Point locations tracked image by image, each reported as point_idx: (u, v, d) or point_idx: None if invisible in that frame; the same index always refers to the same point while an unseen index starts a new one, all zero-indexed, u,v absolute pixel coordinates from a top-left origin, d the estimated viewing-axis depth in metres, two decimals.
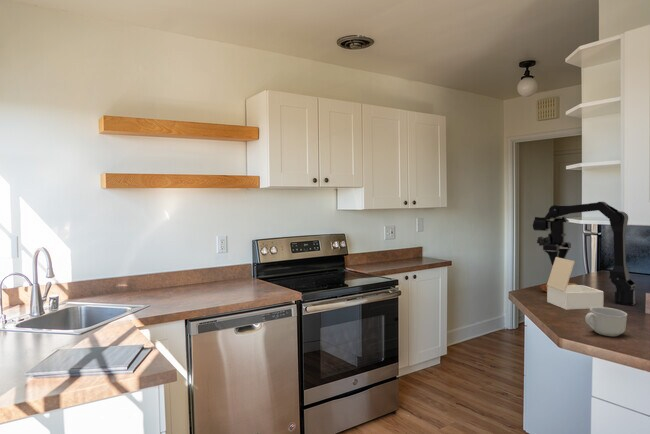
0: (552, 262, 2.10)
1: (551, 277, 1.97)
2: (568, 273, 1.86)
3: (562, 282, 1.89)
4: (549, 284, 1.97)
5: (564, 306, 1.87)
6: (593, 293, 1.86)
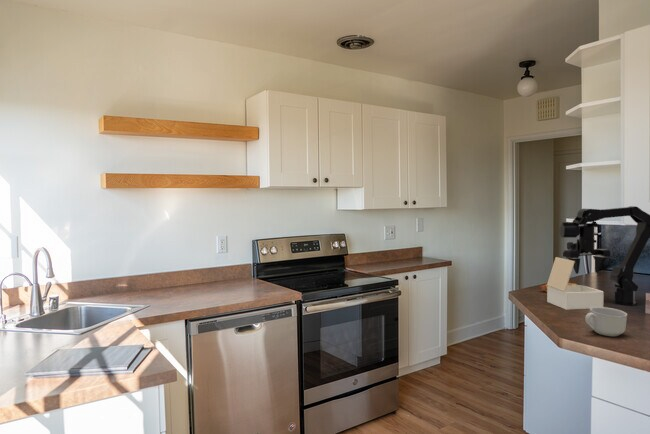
0: (575, 270, 1.96)
1: (551, 277, 1.97)
2: (568, 273, 1.86)
3: (562, 282, 1.89)
4: (549, 284, 1.97)
5: (564, 306, 1.87)
6: (593, 293, 1.86)
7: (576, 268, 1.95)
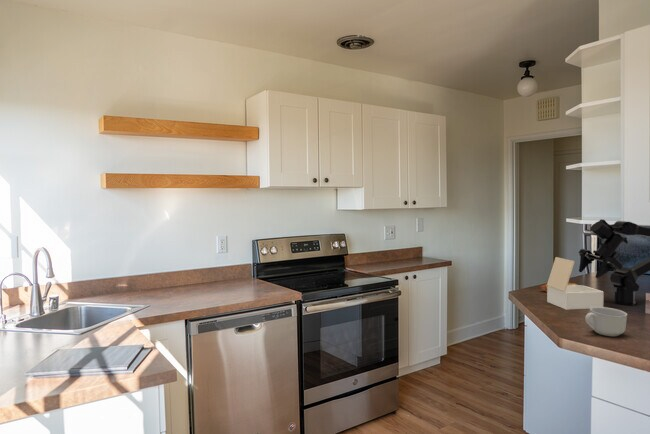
0: None
1: (551, 277, 1.97)
2: (568, 273, 1.86)
3: (562, 282, 1.89)
4: (549, 284, 1.97)
5: (564, 306, 1.87)
6: (593, 293, 1.86)
7: None
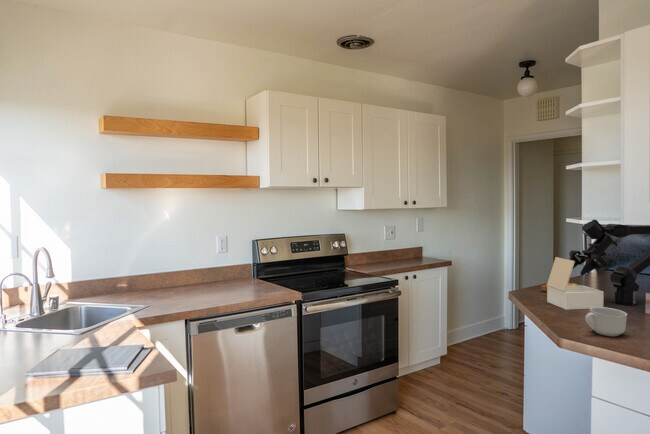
0: None
1: (551, 277, 1.97)
2: (568, 273, 1.86)
3: (562, 282, 1.89)
4: (549, 284, 1.97)
5: (564, 306, 1.87)
6: (593, 293, 1.86)
7: None
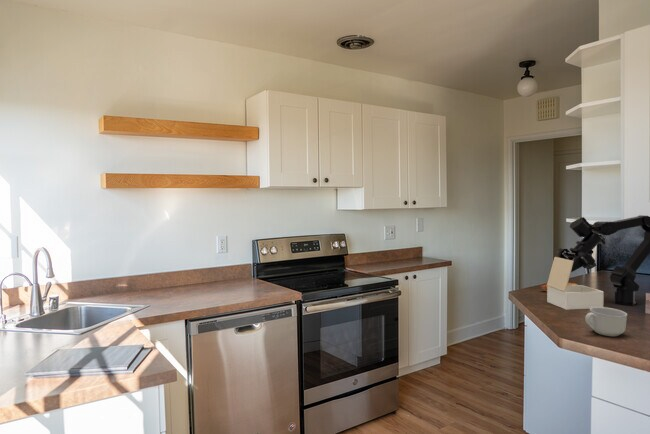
0: None
1: (551, 277, 1.97)
2: (567, 273, 1.86)
3: (562, 282, 1.89)
4: (549, 284, 1.97)
5: (564, 306, 1.87)
6: (593, 293, 1.86)
7: None
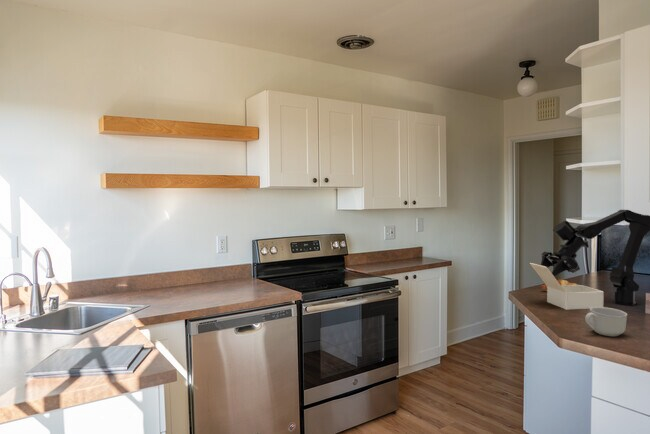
0: None
1: (543, 280, 1.97)
2: (552, 277, 1.86)
3: (556, 284, 1.88)
4: (548, 285, 1.97)
5: (564, 306, 1.87)
6: (593, 293, 1.86)
7: None
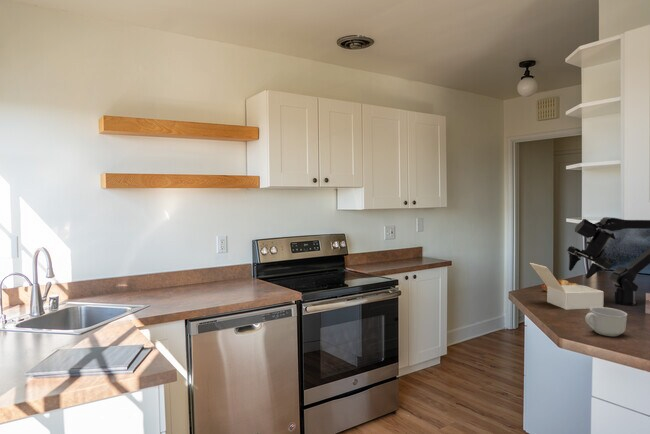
0: None
1: (543, 280, 1.97)
2: (552, 277, 1.86)
3: (556, 284, 1.88)
4: (548, 285, 1.97)
5: (564, 306, 1.87)
6: (593, 293, 1.86)
7: None
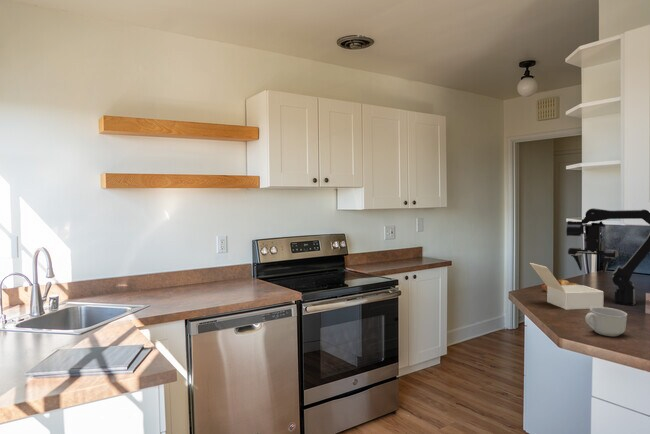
0: None
1: (543, 280, 1.97)
2: (552, 277, 1.86)
3: (556, 284, 1.88)
4: (548, 285, 1.97)
5: (564, 306, 1.87)
6: (593, 293, 1.86)
7: None
